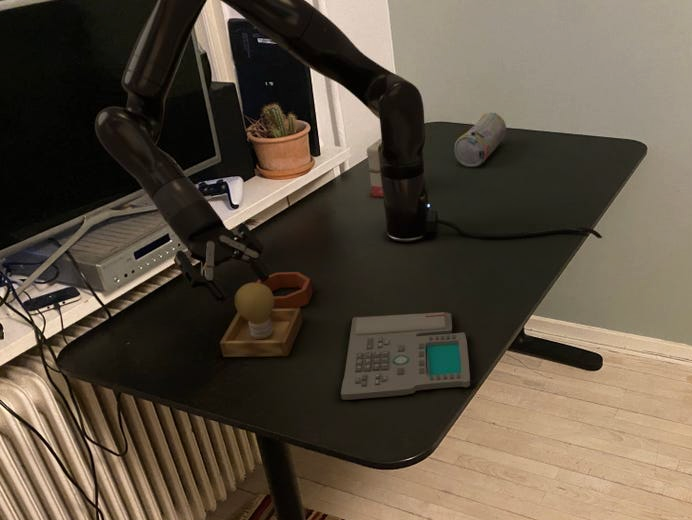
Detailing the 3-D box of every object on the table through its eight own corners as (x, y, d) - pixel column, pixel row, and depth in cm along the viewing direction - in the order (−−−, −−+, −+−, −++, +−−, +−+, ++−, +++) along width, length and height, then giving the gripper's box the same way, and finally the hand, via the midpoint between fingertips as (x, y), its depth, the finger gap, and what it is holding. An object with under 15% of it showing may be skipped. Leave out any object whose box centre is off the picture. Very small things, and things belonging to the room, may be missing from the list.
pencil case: (483, 170, 192) (482, 134, 186) (453, 167, 194) (451, 131, 189) (508, 145, 208) (507, 111, 202) (479, 142, 210) (478, 109, 205)
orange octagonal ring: (316, 285, 143) (313, 271, 141) (304, 311, 134) (301, 297, 133) (264, 286, 143) (261, 272, 141) (250, 312, 135) (246, 298, 133)
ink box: (389, 198, 178) (384, 150, 171) (371, 196, 179) (365, 149, 173) (403, 185, 185) (398, 139, 178) (386, 183, 186) (380, 137, 179)
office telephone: (350, 310, 129) (462, 302, 130) (352, 323, 131) (463, 315, 131) (339, 387, 110) (471, 377, 111) (341, 401, 111) (471, 391, 112)
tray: (302, 321, 131) (300, 308, 130) (288, 356, 122) (285, 342, 121) (242, 322, 132) (239, 309, 130) (223, 357, 123) (219, 343, 121)
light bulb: (288, 328, 128) (277, 278, 123) (268, 348, 123) (256, 296, 118) (257, 323, 130) (245, 274, 125) (236, 342, 125) (223, 291, 120)
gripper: (154, 215, 115) (217, 298, 115) (228, 186, 124) (286, 263, 125) (145, 238, 120) (205, 317, 121) (216, 209, 129) (272, 282, 130)
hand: (246, 289), depth 123 cm, fingers open, 8 cm apart
